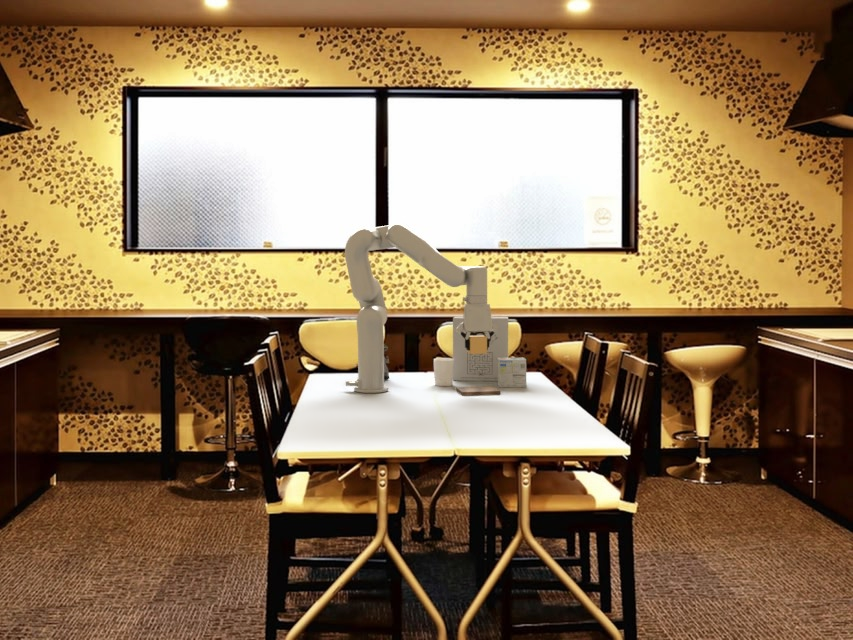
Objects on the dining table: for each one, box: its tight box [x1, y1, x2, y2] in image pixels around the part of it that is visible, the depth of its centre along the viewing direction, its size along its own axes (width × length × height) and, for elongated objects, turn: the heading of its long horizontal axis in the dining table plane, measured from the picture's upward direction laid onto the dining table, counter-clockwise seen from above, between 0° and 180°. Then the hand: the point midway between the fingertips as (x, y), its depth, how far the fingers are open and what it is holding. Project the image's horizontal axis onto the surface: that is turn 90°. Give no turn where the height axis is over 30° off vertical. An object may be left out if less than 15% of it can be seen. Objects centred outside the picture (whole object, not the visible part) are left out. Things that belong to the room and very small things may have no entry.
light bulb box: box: [497, 356, 527, 388], centre depth 351 cm, size 11×7×11 cm, turn 92°
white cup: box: [433, 357, 454, 387], centre depth 354 cm, size 8×8×10 cm
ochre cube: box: [467, 335, 487, 354], centre depth 335 cm, size 6×6×6 cm
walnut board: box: [455, 385, 501, 396], centre depth 337 cm, size 14×11×1 cm
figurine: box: [355, 343, 390, 380], centre depth 367 cm, size 9×12×15 cm
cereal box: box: [452, 315, 509, 382], centre depth 367 cm, size 22×8×25 cm, turn 84°
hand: (477, 349), depth 335 cm, fingers closed on ochre cube, 6 cm apart
